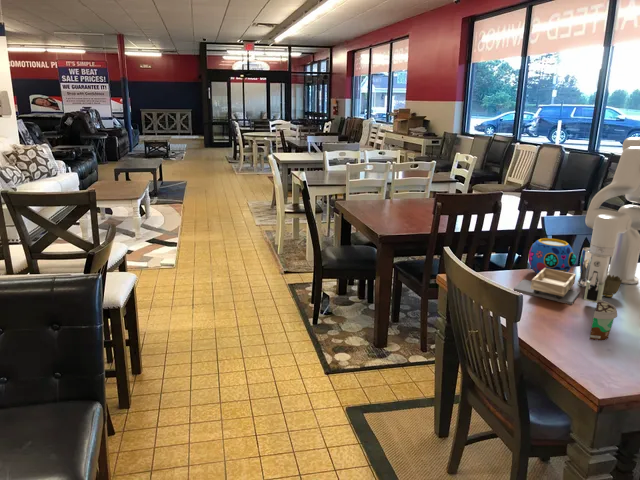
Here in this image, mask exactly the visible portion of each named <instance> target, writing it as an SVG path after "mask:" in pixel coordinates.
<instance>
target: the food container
mask: <svg viewBox="0 0 640 480" xmlns="http://www.w3.org/2000/svg"><path fill="white" fill-rule="evenodd" d="M593 313H594V314H593V318H592V323H591V330H590V333H589V334H590V335H589V340H591V341H598V342H599V341H600V342H602V341H607V340H608V339H609V337H610V334H611V330H612V326H613V323H614V320H615V318H617V317H618V310H617V307H616V306H615V305H614V304H613V303H610V302H608V301H605V300H602V299H601V300H598V301H597V303H596V307H595V311H594V312H593Z"/></svg>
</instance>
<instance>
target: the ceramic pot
mask: <svg viewBox="0 0 640 480" xmlns="http://www.w3.org/2000/svg"><path fill="white" fill-rule="evenodd" d="M527 255H528V265H529V266H530V268H531V270H532V271H534V272H535V274H536V275H537V274H538V273H539V272H540V271H541V270H543V269H544V268H549V269H554V270H558V271H563V272H568V273H569V271H570V270H571V269H572V267H573V266H575V264H576V262H577V255H576V254H575V253H574V251H573V247H572V246H571V245H570V244H569V243H568V242H567V241H566V240H562V239H559V238H551V237H550V238H549V237H545V238H544V237H543V238H540V239H537V240H535V242H534V243H532V245H531V246H530V249H529V252H528V254H527Z"/></svg>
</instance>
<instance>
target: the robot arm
mask: <svg viewBox="0 0 640 480" xmlns="http://www.w3.org/2000/svg"><path fill="white" fill-rule="evenodd" d="M616 166H617V167H616V170H615V172H614V175H613V177H612V181H611V183H610V184H608V185H606V186H604V187H603V188H601V189H600V190H599V191H598V192H597V193H595V194H594V196H592V199H591V201H590V204H589V206H588V208H587V212H586V215H585V220H584V221H585V225H586V226H587V227H588V228H590V229H592V235H591V240H590V244H589V248H590V250H589V253H590V254H592V259H591V264H590V270H589V276H588V280H589V281H590V285H589V289H588V293H587V299H588V300H592V301H597V296H598V286H599V283H601V284H603V283H604V282H605V280H606V278H607V275H609V274H610V275H611V277H612V276H613V275H614V277H615V276H618V277H620V280H621V279H622V282H621V284H624V285H635V284H637V283H639V278H638V277H637V276H636V272H637V267H638V263H639V258H640V232H639V231H640V205H635V204H624V205H621V206H620V208H619V209H618V210H617V211H615V210H610V209H604V208H603V209H602V208H600V207H601V205H602V204H603V203H604V202H606V201H607V200H609V199H613V198H615V197H620V196H624V195H625V199H626V200H627V201H629V202H631V203H637V204H640V136H632V137H627V138H625V139H624V140H623V143H622V153H621V154H620V158H619V161H618V164H617V165H616ZM596 280H598V282H596ZM595 283H596V284H597V286H596V285H595Z"/></svg>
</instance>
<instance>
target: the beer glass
mask: <svg viewBox="0 0 640 480" xmlns="http://www.w3.org/2000/svg"><path fill="white" fill-rule="evenodd" d="M589 250H590V247H583V248H582V251H581V255H580V259H579V260H580V261H579V262H580V263H579V271H580V272H579V273H580V274H579V279H578V281H577V285H578V286H580V287H582V288H585V289H586V284H587V281H588V276H589V270H590V264H591V259H592V254H590V253H589Z"/></svg>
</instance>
